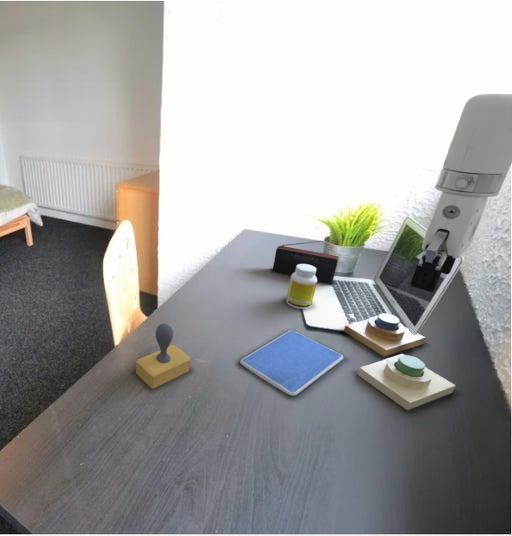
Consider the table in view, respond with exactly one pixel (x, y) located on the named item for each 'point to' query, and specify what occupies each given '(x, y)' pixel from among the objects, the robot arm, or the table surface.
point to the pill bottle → (302, 287)
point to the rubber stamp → (163, 360)
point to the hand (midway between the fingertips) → (430, 279)
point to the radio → (305, 262)
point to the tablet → (291, 362)
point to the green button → (410, 366)
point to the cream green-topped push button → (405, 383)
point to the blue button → (387, 321)
